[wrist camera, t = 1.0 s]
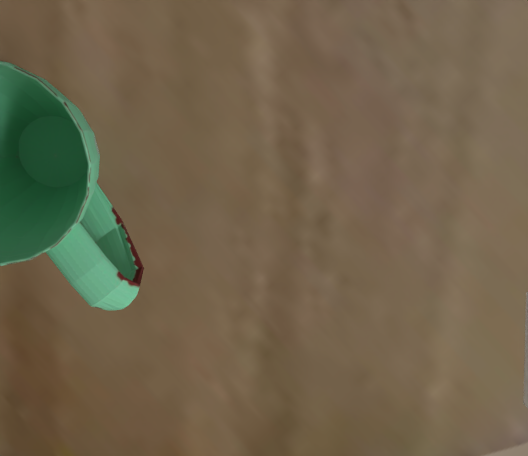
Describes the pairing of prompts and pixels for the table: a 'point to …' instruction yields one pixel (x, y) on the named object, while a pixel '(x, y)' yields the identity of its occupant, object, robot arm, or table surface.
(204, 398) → the table surface
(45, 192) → the mug
